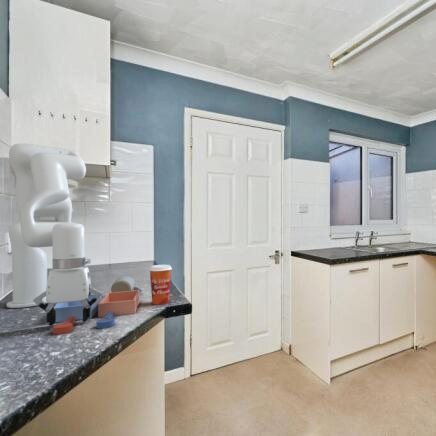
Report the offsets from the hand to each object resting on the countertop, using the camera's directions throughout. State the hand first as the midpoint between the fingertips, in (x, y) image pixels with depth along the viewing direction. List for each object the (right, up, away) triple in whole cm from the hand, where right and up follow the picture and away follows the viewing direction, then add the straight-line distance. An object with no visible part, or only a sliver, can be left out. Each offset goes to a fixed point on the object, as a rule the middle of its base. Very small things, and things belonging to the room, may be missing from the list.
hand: (69, 322), depth 94 cm
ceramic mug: (-5, -1, +35) cm, 35 cm away
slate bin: (-6, -1, +11) cm, 13 cm away
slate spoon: (+10, -1, +2) cm, 10 cm away
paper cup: (+15, -1, +25) cm, 29 cm away
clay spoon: (+1, -1, -2) cm, 3 cm away
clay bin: (+5, -1, +16) cm, 17 cm away
